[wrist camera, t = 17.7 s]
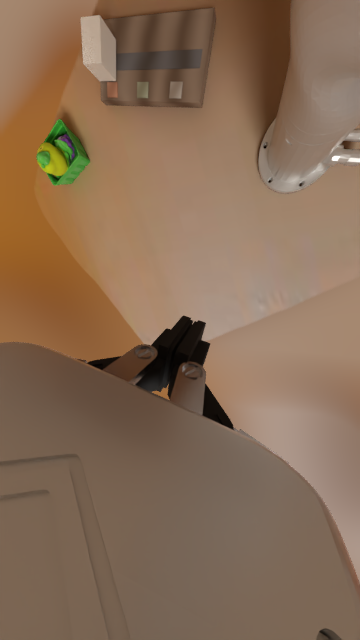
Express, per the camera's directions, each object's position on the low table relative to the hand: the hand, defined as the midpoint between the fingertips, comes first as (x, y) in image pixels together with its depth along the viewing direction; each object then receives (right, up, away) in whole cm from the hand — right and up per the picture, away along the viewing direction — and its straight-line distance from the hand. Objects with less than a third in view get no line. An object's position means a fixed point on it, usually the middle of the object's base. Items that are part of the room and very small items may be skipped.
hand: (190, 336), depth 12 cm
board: (-6, +49, +20) cm, 54 cm away
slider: (-15, +51, +21) cm, 57 cm away
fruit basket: (-28, +42, +33) cm, 60 cm away
